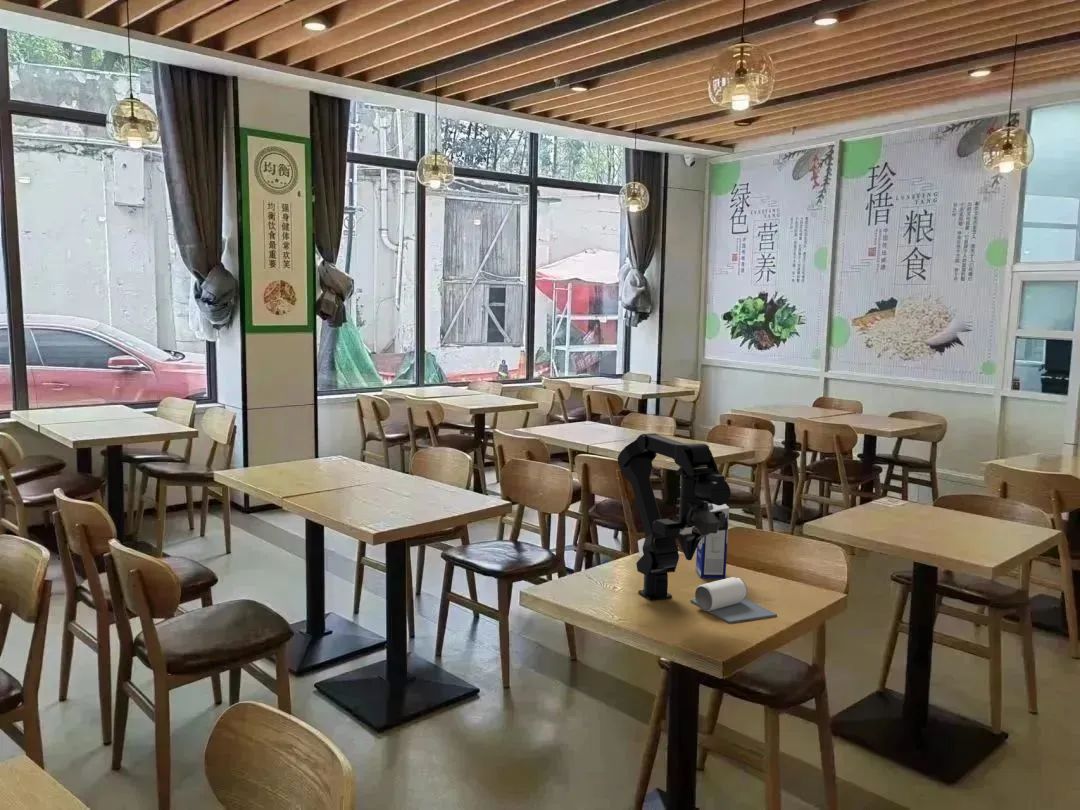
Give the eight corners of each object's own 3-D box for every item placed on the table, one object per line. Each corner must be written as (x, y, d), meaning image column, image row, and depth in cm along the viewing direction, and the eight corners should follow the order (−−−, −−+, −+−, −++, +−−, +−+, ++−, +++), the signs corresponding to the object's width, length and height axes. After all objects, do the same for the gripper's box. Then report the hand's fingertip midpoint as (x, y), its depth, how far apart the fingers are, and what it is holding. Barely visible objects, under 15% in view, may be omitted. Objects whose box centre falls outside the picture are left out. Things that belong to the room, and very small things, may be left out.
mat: (690, 601, 217) (690, 599, 217) (736, 595, 223) (736, 593, 223) (729, 623, 203) (729, 621, 203) (776, 616, 208) (777, 614, 208)
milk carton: (725, 578, 237) (729, 506, 234) (701, 578, 236) (704, 506, 234) (719, 570, 244) (723, 501, 241) (695, 570, 243) (699, 500, 241)
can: (690, 590, 214) (726, 581, 220) (701, 615, 211) (736, 605, 218) (705, 580, 209) (741, 572, 215) (716, 606, 206) (752, 596, 213)
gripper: (681, 507, 195) (677, 574, 197) (745, 500, 204) (741, 564, 206) (652, 496, 205) (649, 560, 207) (715, 490, 213) (711, 552, 215)
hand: (688, 559), depth 208 cm, fingers closed
